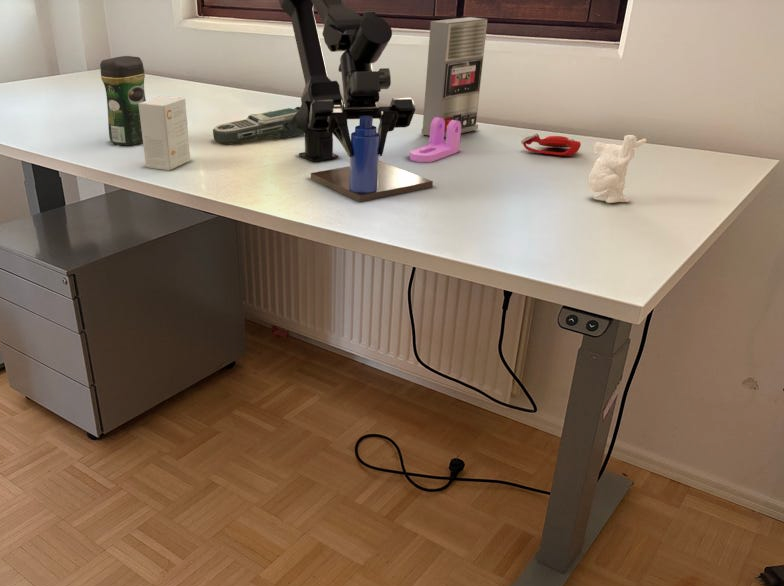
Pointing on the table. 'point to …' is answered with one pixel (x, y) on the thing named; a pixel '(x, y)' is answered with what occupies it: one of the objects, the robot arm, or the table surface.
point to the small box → (164, 132)
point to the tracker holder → (553, 144)
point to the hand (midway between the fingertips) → (366, 155)
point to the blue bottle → (364, 157)
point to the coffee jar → (124, 98)
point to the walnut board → (388, 182)
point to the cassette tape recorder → (454, 72)
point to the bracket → (439, 141)
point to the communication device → (259, 127)
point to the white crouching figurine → (612, 169)
